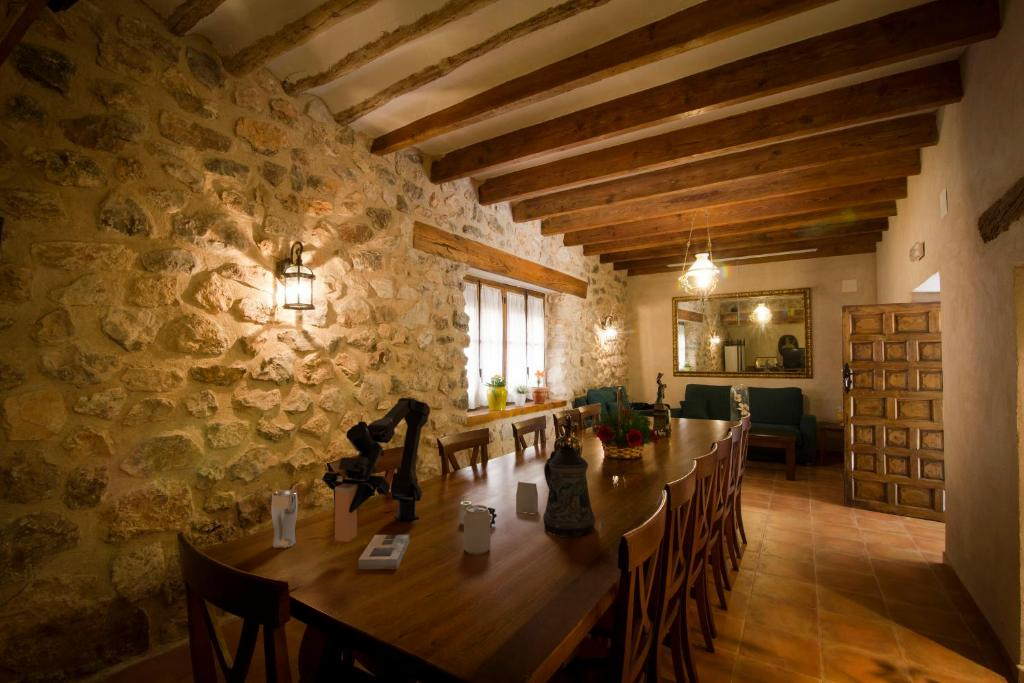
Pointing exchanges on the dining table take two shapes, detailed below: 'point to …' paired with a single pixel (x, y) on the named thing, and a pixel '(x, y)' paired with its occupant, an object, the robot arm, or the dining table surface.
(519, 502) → the tea bag
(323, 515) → the dining table surface
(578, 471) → the beer stein
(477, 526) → the can
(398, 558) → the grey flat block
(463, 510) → the valve
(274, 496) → the beer glass
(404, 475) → the robot arm
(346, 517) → the square peg
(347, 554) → the dining table surface
